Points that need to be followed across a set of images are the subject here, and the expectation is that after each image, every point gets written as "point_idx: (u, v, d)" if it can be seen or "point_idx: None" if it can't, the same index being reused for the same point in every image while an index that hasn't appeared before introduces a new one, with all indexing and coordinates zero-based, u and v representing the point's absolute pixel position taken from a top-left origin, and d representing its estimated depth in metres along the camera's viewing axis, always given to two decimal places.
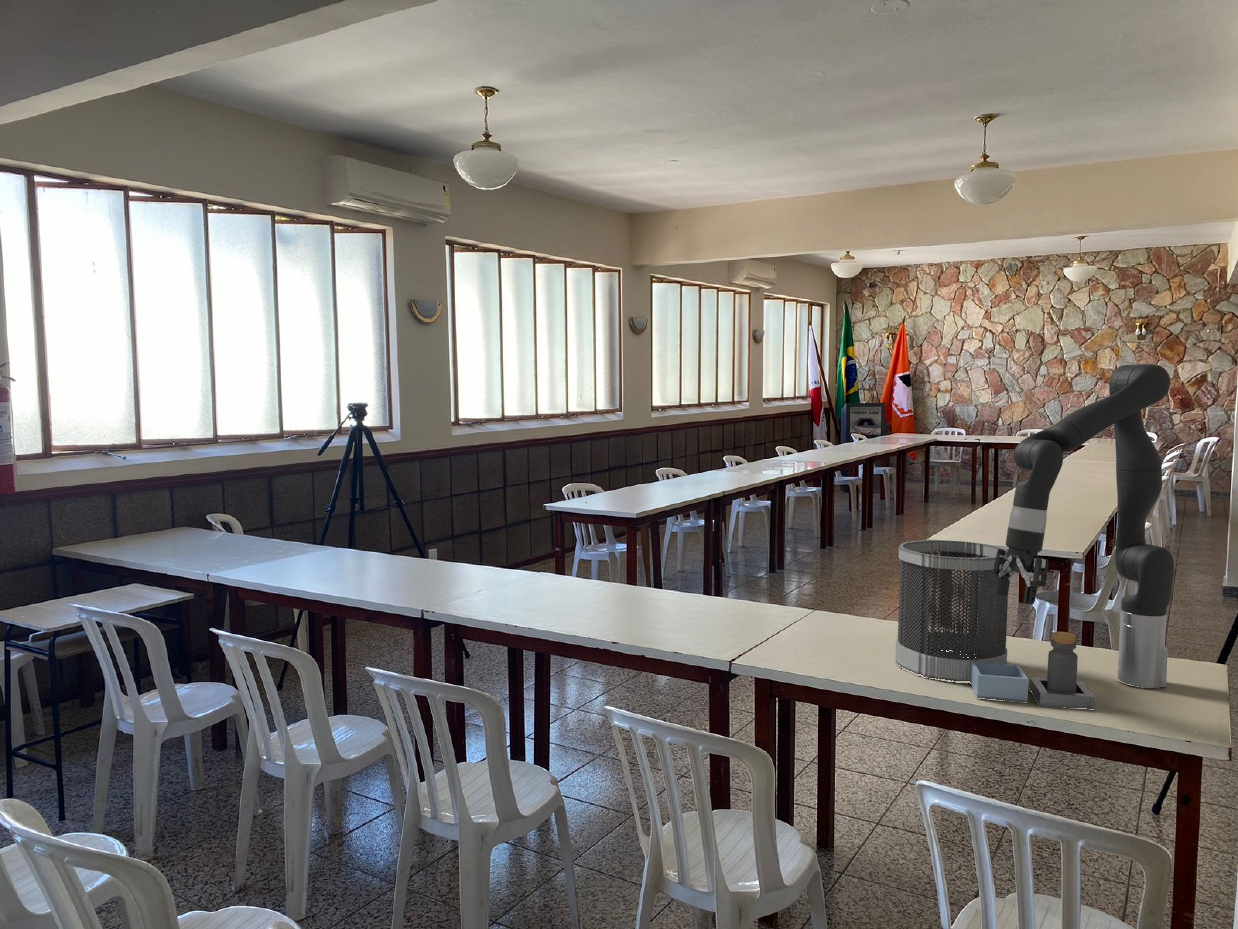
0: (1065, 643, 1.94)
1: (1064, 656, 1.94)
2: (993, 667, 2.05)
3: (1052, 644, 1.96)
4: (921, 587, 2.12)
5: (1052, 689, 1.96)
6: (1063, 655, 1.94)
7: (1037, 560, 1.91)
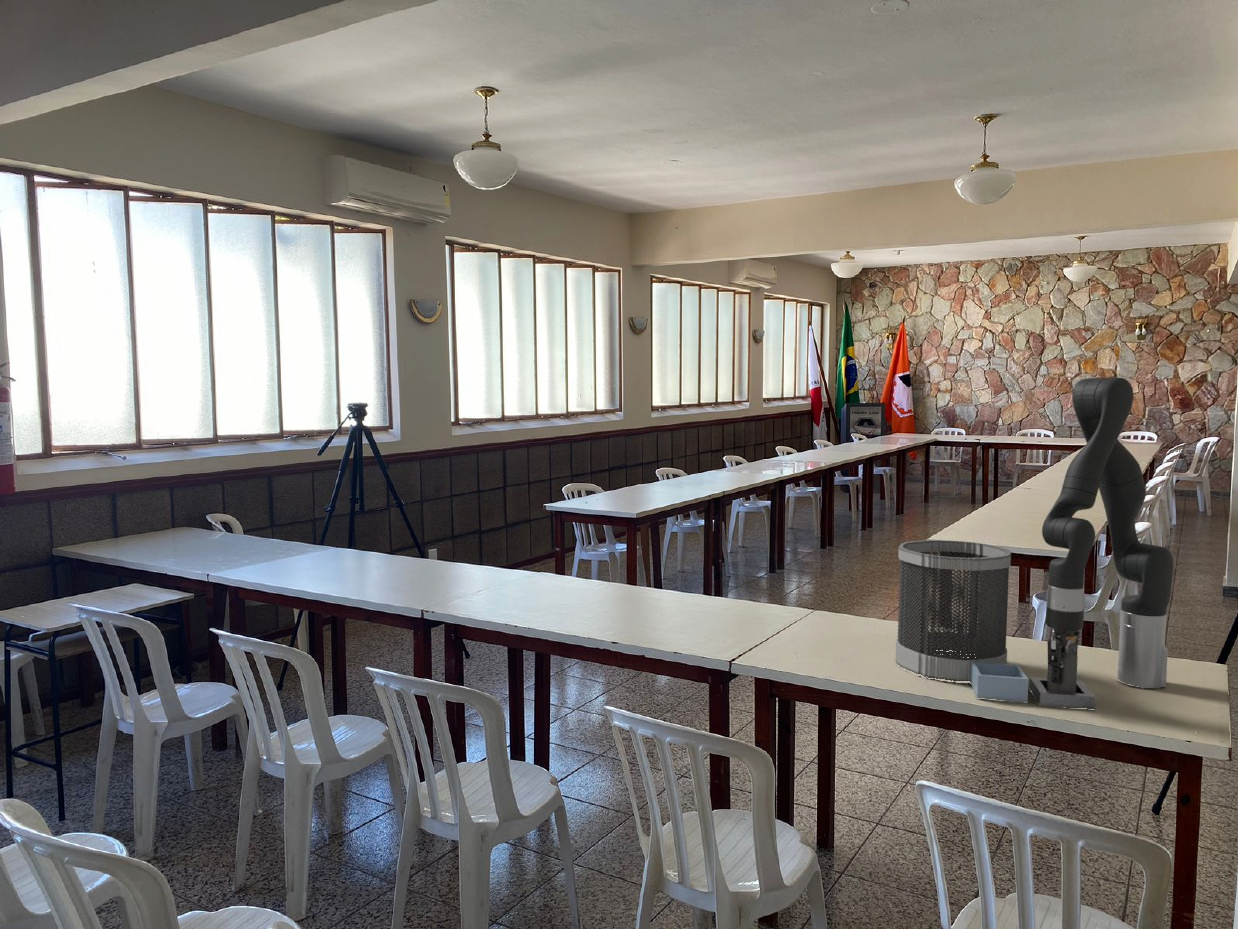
0: None
1: None
2: (993, 667, 2.05)
3: None
4: (921, 587, 2.12)
5: (1052, 689, 1.96)
6: None
7: (1048, 641, 1.92)
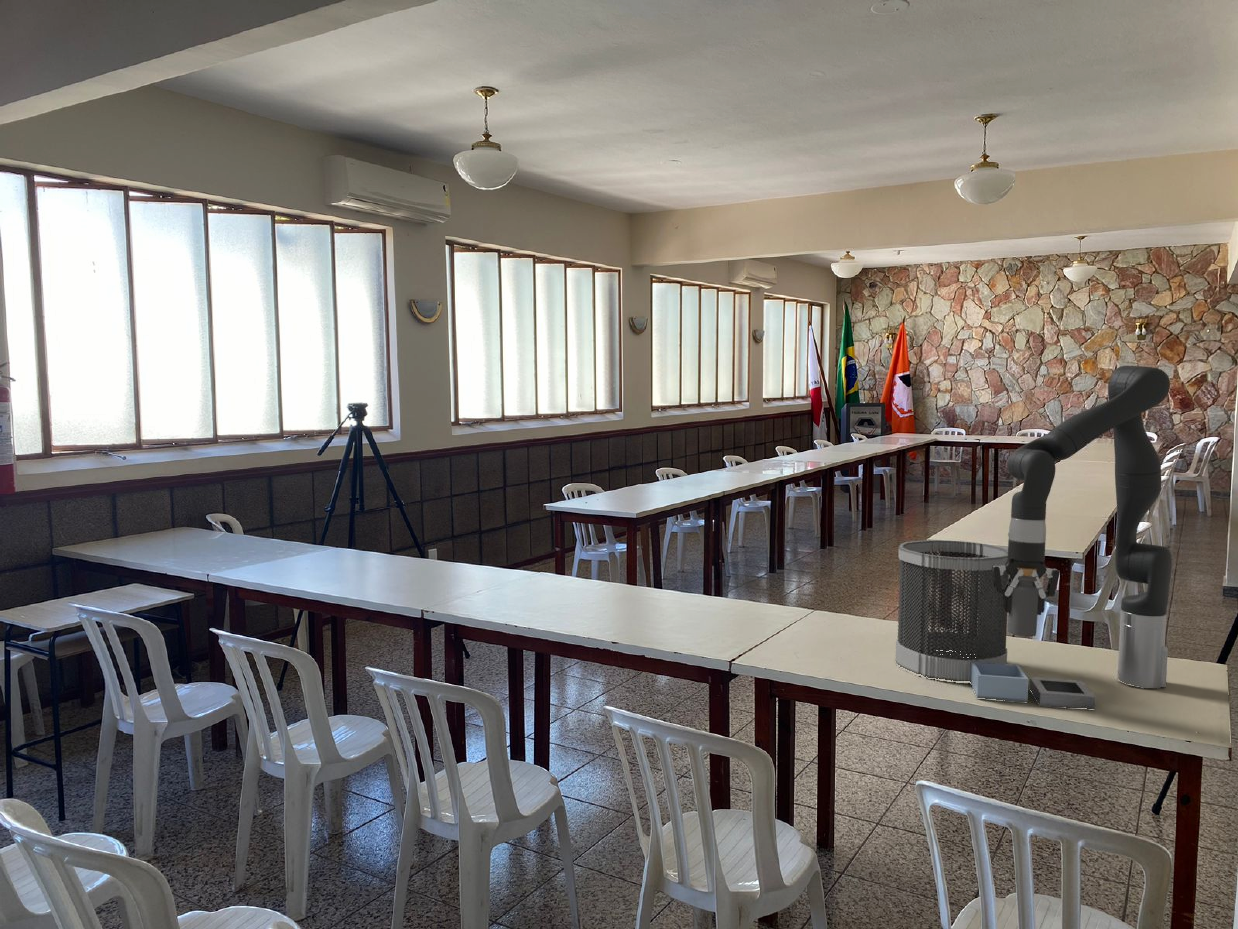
0: None
1: None
2: (993, 667, 2.05)
3: None
4: (921, 587, 2.12)
5: None
6: None
7: None
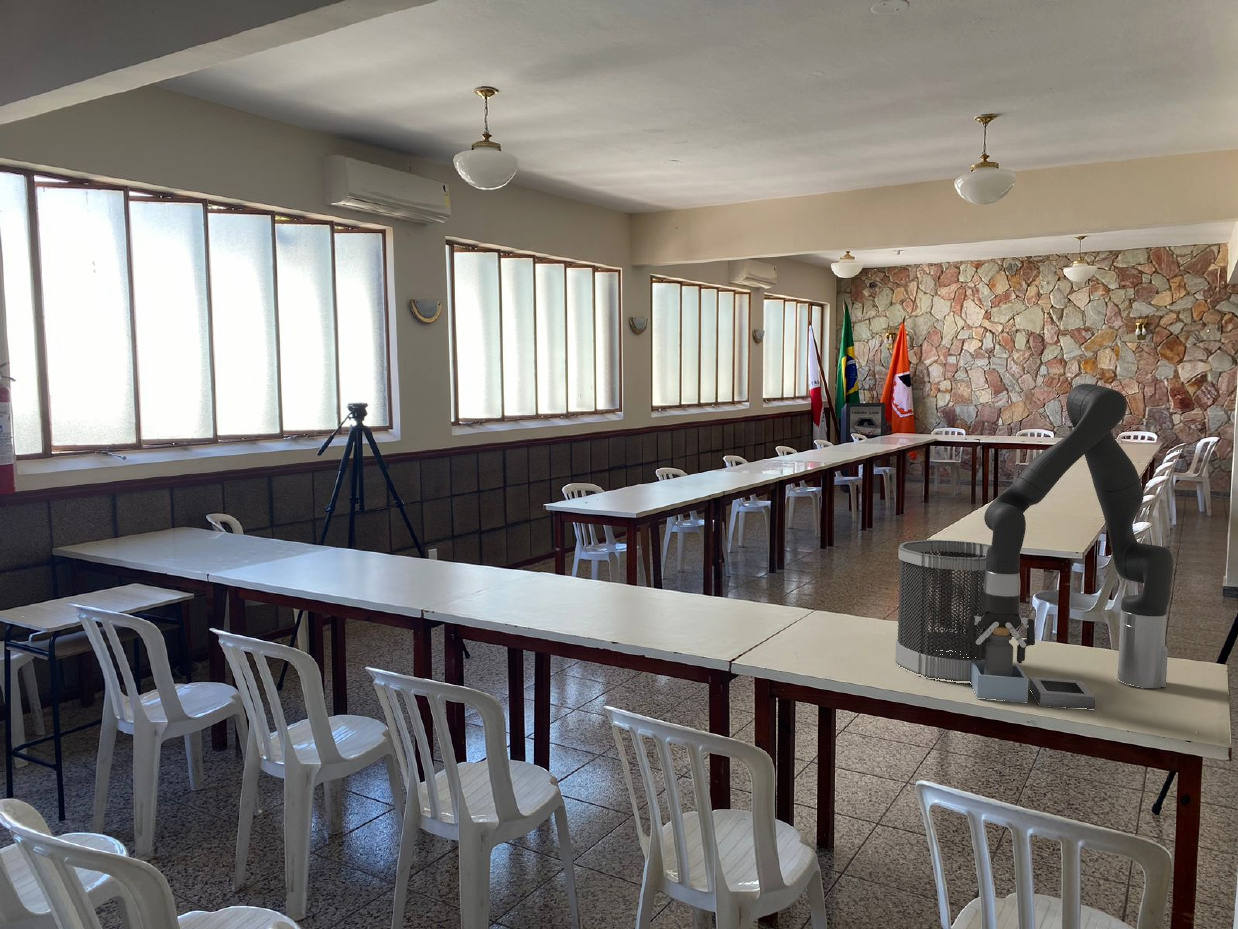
0: (992, 632, 1.99)
1: (988, 645, 2.00)
2: None
3: None
4: (921, 587, 2.12)
5: None
6: (988, 644, 2.00)
7: None
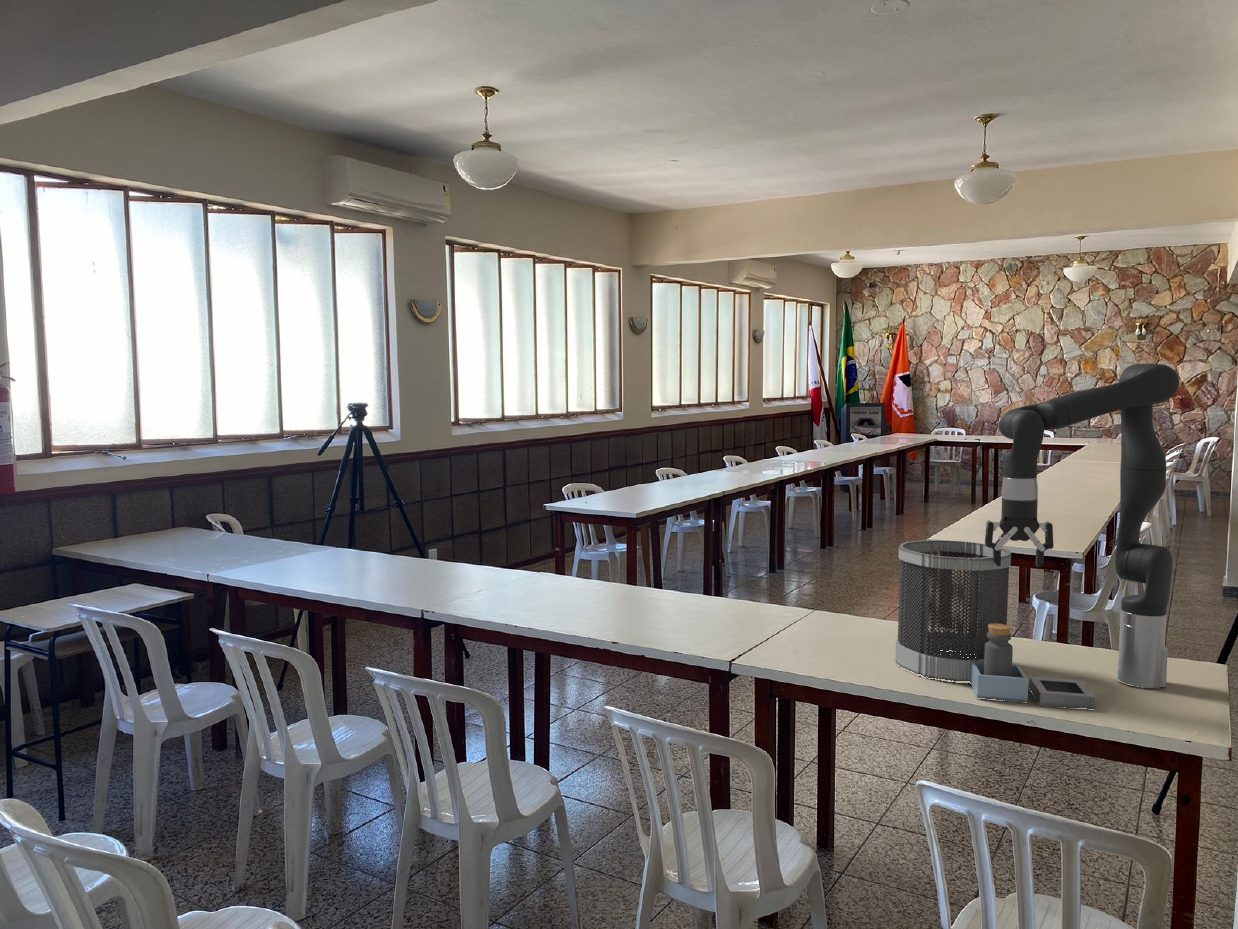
0: (991, 633, 1.99)
1: (988, 645, 2.00)
2: None
3: None
4: (921, 587, 2.12)
5: None
6: (988, 644, 2.00)
7: None
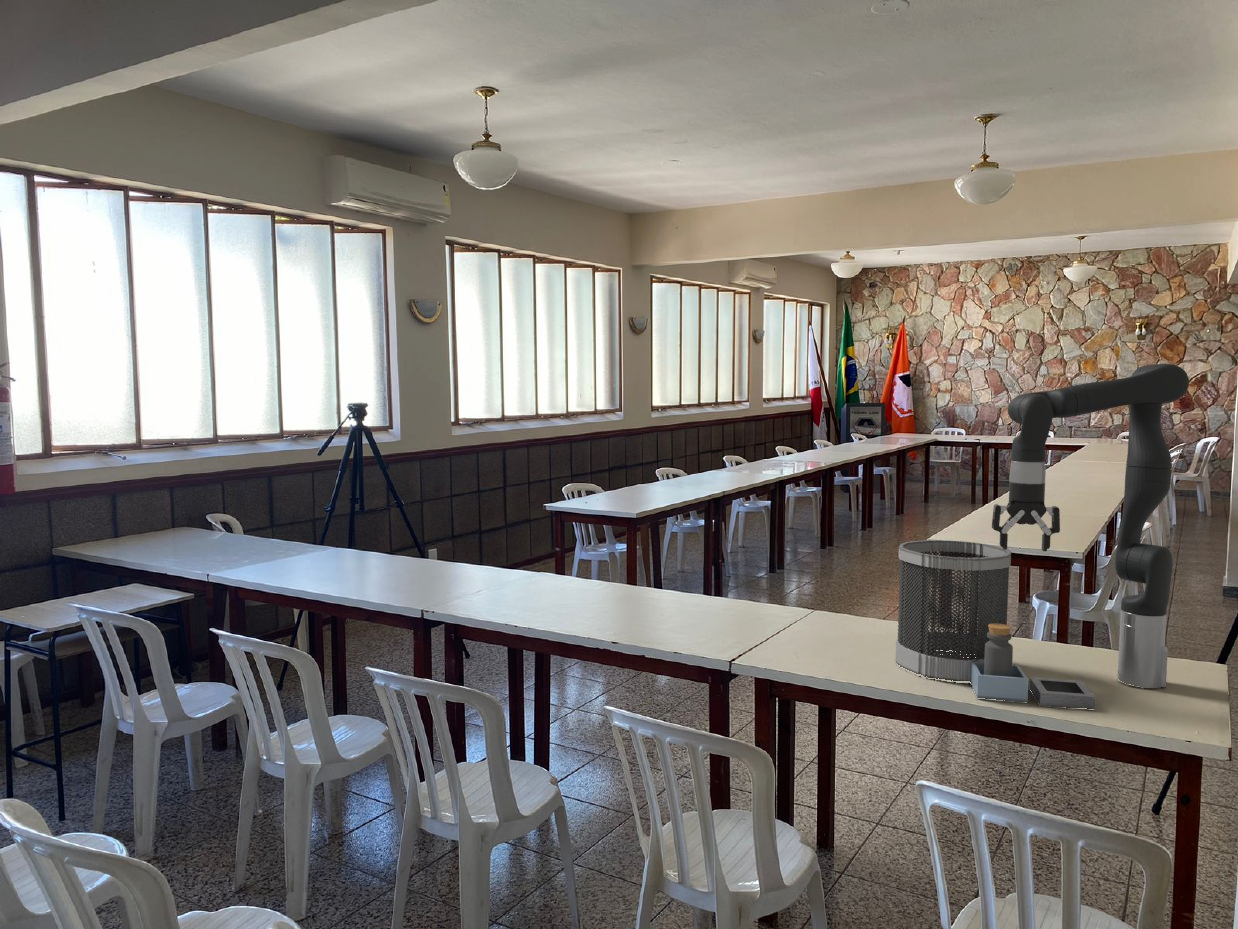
0: (991, 632, 1.99)
1: (988, 645, 2.00)
2: None
3: None
4: (921, 587, 2.12)
5: None
6: (988, 644, 2.00)
7: None
